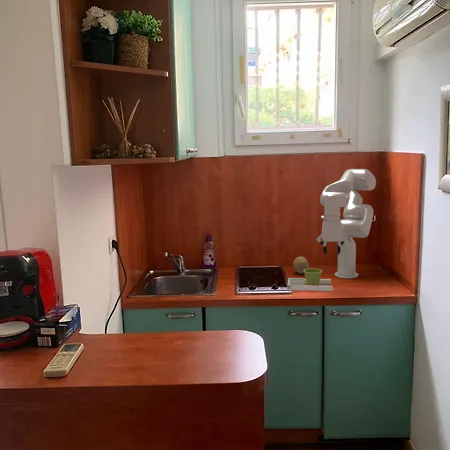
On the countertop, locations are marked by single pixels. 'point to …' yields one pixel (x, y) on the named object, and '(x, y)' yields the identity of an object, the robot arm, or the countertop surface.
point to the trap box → (298, 285)
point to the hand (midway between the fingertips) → (331, 253)
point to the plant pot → (312, 276)
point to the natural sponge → (300, 264)
